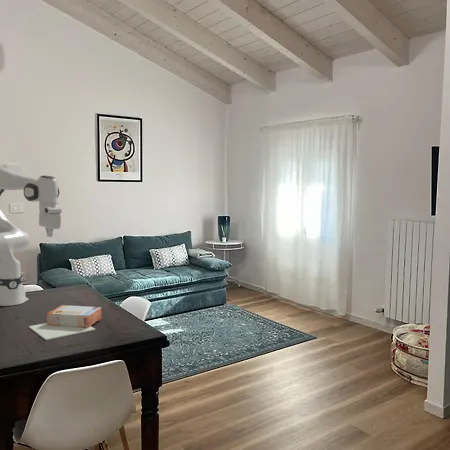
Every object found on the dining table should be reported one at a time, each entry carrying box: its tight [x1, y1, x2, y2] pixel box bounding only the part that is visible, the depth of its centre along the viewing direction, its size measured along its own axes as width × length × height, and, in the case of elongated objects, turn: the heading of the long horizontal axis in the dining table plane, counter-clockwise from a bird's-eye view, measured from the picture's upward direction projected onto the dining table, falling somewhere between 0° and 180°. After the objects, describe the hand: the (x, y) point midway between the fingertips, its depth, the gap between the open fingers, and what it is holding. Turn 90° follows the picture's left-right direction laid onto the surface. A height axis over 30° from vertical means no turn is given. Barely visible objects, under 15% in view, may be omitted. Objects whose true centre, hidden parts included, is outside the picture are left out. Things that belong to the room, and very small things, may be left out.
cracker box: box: [46, 304, 102, 327], centre depth 220 cm, size 14×6×21 cm
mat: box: [28, 322, 96, 341], centre depth 212 cm, size 22×22×1 cm
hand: (49, 236), depth 232 cm, fingers closed
